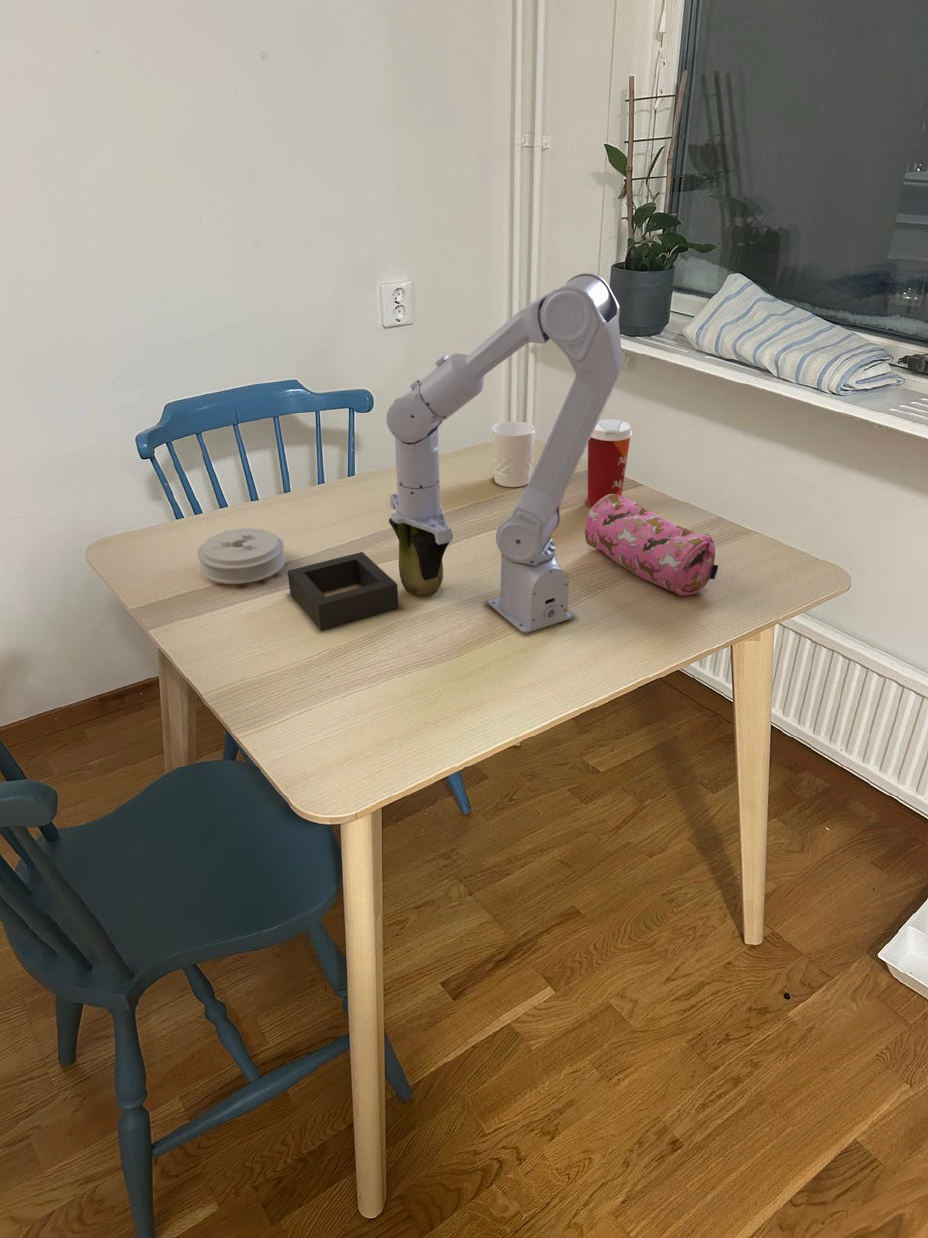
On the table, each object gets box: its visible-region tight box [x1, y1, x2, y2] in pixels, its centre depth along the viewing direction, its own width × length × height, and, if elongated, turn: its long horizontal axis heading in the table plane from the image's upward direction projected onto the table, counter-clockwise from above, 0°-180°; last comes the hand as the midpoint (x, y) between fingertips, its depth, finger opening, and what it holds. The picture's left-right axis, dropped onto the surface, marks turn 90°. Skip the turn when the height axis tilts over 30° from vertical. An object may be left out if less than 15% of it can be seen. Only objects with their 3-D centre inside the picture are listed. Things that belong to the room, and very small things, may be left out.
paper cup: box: [587, 418, 634, 508], centre depth 151 cm, size 8×8×14 cm
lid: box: [196, 527, 287, 585], centre depth 133 cm, size 13×13×5 cm
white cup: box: [491, 421, 536, 488], centre depth 162 cm, size 8×8×10 cm
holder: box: [287, 551, 399, 632], centre depth 125 cm, size 12×12×4 cm
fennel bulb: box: [397, 523, 444, 597], centre depth 125 cm, size 6×5×12 cm
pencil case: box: [584, 494, 719, 597], centre depth 131 cm, size 21×9×9 cm, turn 34°
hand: (421, 570), depth 126 cm, fingers closed on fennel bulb, 4 cm apart
